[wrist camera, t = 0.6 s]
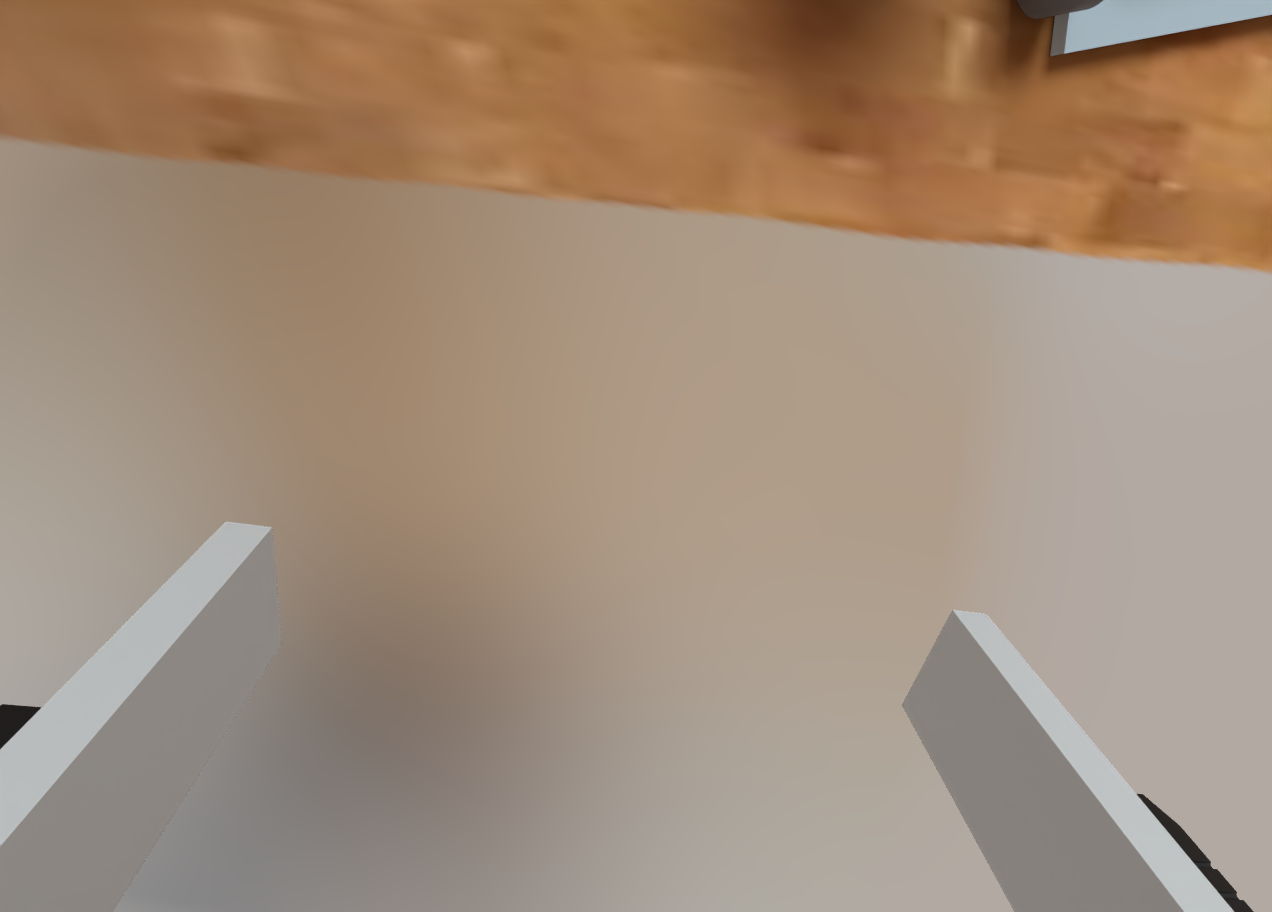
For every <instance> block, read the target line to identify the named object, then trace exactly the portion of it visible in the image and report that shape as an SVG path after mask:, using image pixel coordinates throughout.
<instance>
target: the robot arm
mask: <svg viewBox="0 0 1272 912" xmlns="http://www.w3.org/2000/svg"><path fill="white" fill-rule="evenodd" d="M281 645H282V642H281V629H280V616H279V603H278V592H277V579H276V566H275V553H274V540H273V529H272V527H266V526H258V525H250V524H241V523H233V522H225V523H224V524H223V525H222V526H221V527H220V528H219V529H218V530H217V531H216V532H215V533H214V534H213V535H212V536H211V537H210V538H209V539H208V540H207V541H206V542H205V543H204V544H203V545H202V546H201V547H200V548H199V549H198V550H197V551H196V552H195V553H194V554H193V555H192V556H191V557H190V558H189V559H188V560H187V561H186V562H185V564H183V565H182V566H181V567H180V569H178V570H177V572H176V573H174V575H173V576H171V577H170V579H169V580H168V581H167V582H166V583H165V584H164V585H163V586H162V587H161V588H160V589H159V590H158V591H157V592H156V593H155V594H154V595H153V596H152V597H151V598H150V599H149V600H148V601H147V602H146V603H145V604H144V605H143V606H142V607H141V608H140V609H139V610H138V611H137V612H136V613H135V614H134V615H133V616H132V617H131V618H130V619H129V620H128V621H127V622H126V623H125V624H124V625H123V626H122V627H121V628H120V629H119V630H118V631H117V632H116V633H115V634H114V635H113V636H112V637H111V638H110V639H109V640H108V641H107V642H106V643H105V644H104V645H103V646H102V647H101V648H100V649H99V650H98V651H97V652H96V653H95V654H94V655H93V656H92V657H91V658H90V659H89V660H88V661H87V662H86V663H85V665H83V666H82V668H80V669H79V670H78V672H76V674H74V676H73V677H71V679H70V680H69V681H68V682H67V683H66V684H65V685H64V686H63V687H62V688H61V689H60V690H59V691H58V692H57V693H56V694H55V695H54V696H53V697H52V698H51V699H50V700H49V701H48V702H47V703H46V704H45V705H44V706H43V707H42V708H41V707H29V706H16V705H4V704H2V705H1V706H0V912H113V911H114V909H115V907H116V906H117V904H118V903H119V901H120V900H121V898H122V896H123V895H124V893H125V891H126V890H127V888H128V887H129V885H130V884H131V882H132V881H133V879H134V877H135V876H136V874H137V873H138V871H139V869H140V868H141V866H142V865H143V863H144V862H145V860H146V858H147V857H148V855H149V854H150V852H151V850H152V849H153V847H154V846H155V844H156V843H157V841H158V839H159V838H160V836H161V835H162V833H163V832H164V830H165V828H166V827H167V825H168V824H169V822H170V821H171V819H172V817H173V816H174V814H175V813H176V811H177V809H178V808H179V806H180V805H181V803H182V802H183V800H184V798H185V797H186V795H187V794H188V792H189V791H190V789H191V787H192V786H193V784H194V783H195V781H196V779H197V778H198V776H199V775H200V773H201V771H202V770H203V768H204V767H205V765H206V764H207V762H208V760H209V759H210V757H211V756H212V754H213V753H214V751H215V749H216V748H217V746H218V745H219V743H220V741H221V740H222V738H223V737H224V735H225V734H226V732H227V731H228V729H229V727H230V726H231V724H232V723H233V721H234V719H235V718H236V716H237V715H238V713H239V711H240V710H241V708H242V707H243V705H244V704H245V702H246V701H247V699H248V697H249V696H250V694H251V693H252V691H253V689H254V688H255V686H256V684H257V683H258V682H259V680H260V678H261V677H262V675H263V673H264V672H265V670H266V669H267V667H268V666H269V664H270V663H271V661H272V659H273V658H274V656H275V654H276V653H277V651H278V650H279V648H280V647H281ZM902 706H903V708H904V710H905V712H906V714H907V715H908V717H909V719H910V721H911V723H912V725H913V727H914V728H915V730H916V732H917V734H918V736H919V738H920V739H921V741H922V743H923V745H924V747H925V748H926V750H927V752H928V754H929V756H930V758H931V760H932V761H933V763H934V765H935V767H936V769H937V770H938V772H939V774H940V776H941V778H942V780H943V782H944V783H945V785H946V787H947V789H948V791H949V792H950V794H951V796H952V798H953V800H954V801H955V804H956V805H957V807H958V809H959V811H960V813H961V815H962V816H963V818H964V820H965V822H966V824H967V825H968V827H969V829H970V831H971V833H972V835H973V837H974V838H975V840H976V842H977V844H978V846H979V848H980V849H981V851H982V853H983V855H984V857H985V858H986V860H987V862H988V864H989V866H990V868H991V870H992V871H993V873H994V875H995V877H996V879H997V881H998V882H999V884H1000V886H1001V888H1002V890H1003V891H1004V893H1005V895H1006V897H1007V899H1008V901H1009V902H1010V904H1011V906H1012V908H1013V910H1014V912H1253V911H1252V910H1251V908H1250V907H1249V906H1248V905H1247V904H1246V903H1245V901H1243V900H1239V899H1238V897H1237V895H1236V893H1237V892H1236V891H1235V890H1234V888H1233V887H1232V886H1231V885H1230V884H1229V883H1228V881H1227V880H1226V879H1225V878H1224V877H1223V876H1222V875H1221V873H1220V872H1219V871H1218V870H1217V869H1213V868H1212V867H1211V865H1210V863H1211V862H1210V861H1209V859H1208V858H1207V857H1206V856H1205V855H1204V854H1203V852H1202V851H1201V850H1200V849H1199V848H1198V846H1197V845H1196V844H1195V843H1194V842H1193V841H1192V839H1191V838H1190V837H1189V836H1188V835H1187V834H1186V833H1185V831H1184V830H1183V829H1182V828H1181V827H1180V826H1179V825H1178V824H1177V823H1176V822H1175V821H1173V820H1172V819H1171V818H1170V817H1169V816H1168V815H1166V814H1165V813H1164V812H1163V811H1162V810H1161V809H1159V808H1158V807H1157V806H1156V805H1154V804H1153V803H1152V802H1151V801H1150V800H1149V799H1148V798H1146V797H1145V796H1144V795H1143V794H1136V793H1135V792H1134V791H1133V790H1132V788H1131V787H1130V786H1129V785H1128V784H1127V782H1126V781H1125V780H1124V779H1123V778H1122V776H1121V775H1120V774H1119V773H1118V772H1117V770H1116V769H1115V768H1114V767H1113V766H1112V764H1111V763H1110V762H1109V761H1108V760H1107V758H1106V757H1105V756H1104V755H1103V754H1102V752H1101V751H1100V750H1099V749H1098V748H1097V747H1096V745H1095V744H1094V743H1093V742H1092V740H1091V739H1090V738H1089V737H1088V736H1087V734H1086V733H1085V732H1084V731H1083V730H1082V728H1081V727H1080V726H1079V725H1078V723H1077V722H1076V721H1075V720H1074V719H1073V717H1072V716H1071V715H1070V714H1069V713H1068V712H1067V710H1066V709H1065V708H1064V707H1063V705H1062V704H1061V703H1060V702H1059V701H1058V700H1057V698H1056V697H1055V696H1054V695H1053V694H1052V692H1051V691H1050V690H1049V689H1048V687H1047V686H1046V685H1045V684H1044V683H1043V681H1042V680H1041V679H1040V678H1039V677H1038V675H1037V674H1036V673H1035V672H1034V671H1033V669H1032V668H1031V667H1030V666H1029V665H1028V663H1027V662H1026V661H1025V660H1024V659H1023V658H1022V656H1021V655H1020V654H1019V653H1018V651H1017V650H1016V649H1015V648H1014V647H1013V645H1012V644H1011V643H1010V642H1009V641H1008V639H1007V638H1006V637H1005V636H1004V635H1003V633H1002V632H1001V631H1000V630H999V629H998V627H996V625H995V624H994V623H993V621H992V620H991V619H990V618H989V617H988V615H987V614H983V613H974V612H966V611H958V610H952V612H951V614H950V615H949V617H948V619H947V621H946V623H945V625H944V627H943V629H942V631H941V633H940V634H939V636H938V638H937V640H936V642H935V644H934V646H933V647H932V649H931V651H930V653H929V655H928V657H927V659H926V661H925V663H924V664H923V666H922V668H921V670H920V672H919V674H918V676H917V678H916V679H915V681H914V683H913V685H912V687H911V689H910V691H909V693H908V695H907V696H906V698H905V700H904V702H903V704H902Z"/></svg>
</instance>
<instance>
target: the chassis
mask: <svg viewBox="0 0 1272 912" xmlns="http://www.w3.org/2000/svg"><path fill="white" fill-rule="evenodd" d="M1017 2H1018V4H1019V7H1020V8H1021V10H1022V11H1023V13H1024V14H1025V15H1027V16H1028V17H1030V18H1033V19H1040V18H1046V17H1051V16H1055V20H1054V28H1053V37H1052V46H1051V54H1050V56H1055V55H1060V54H1066V53H1071V52H1076V51H1082V50H1087V49H1092V48H1098V47H1103V46H1108V45H1114V44H1119V43H1124V42H1130V41H1135V40H1140V39H1146V38H1151V37H1156V36H1162V35H1167V34H1172V33H1178V32H1183V31H1188V30H1194V29H1199V28H1204V27H1210V26H1215V25H1220V24H1226V23H1231V22H1236V21H1242V20H1247V19H1252V18H1258V17H1263V16H1268V15H1272V0H1017Z"/></svg>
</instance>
